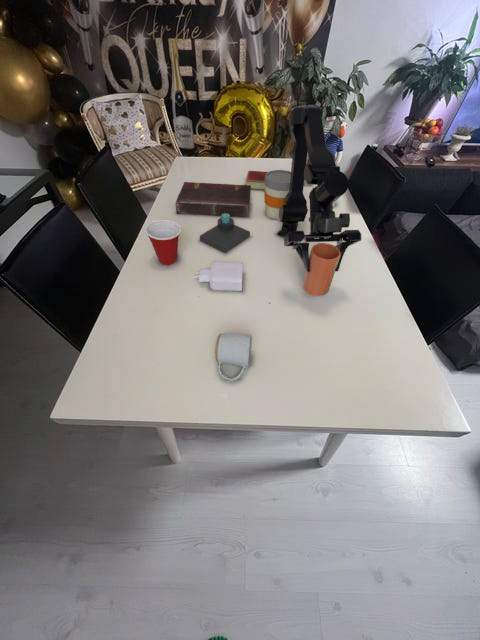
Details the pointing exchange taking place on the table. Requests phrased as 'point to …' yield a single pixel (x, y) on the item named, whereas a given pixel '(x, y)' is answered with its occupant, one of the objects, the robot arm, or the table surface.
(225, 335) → the ceramic mug
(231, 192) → the hardback book
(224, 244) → the dark grey base plate
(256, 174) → the hardcover book
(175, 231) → the plastic cup
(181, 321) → the table surface
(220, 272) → the charger
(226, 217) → the button
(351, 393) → the table surface
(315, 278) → the cup
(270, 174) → the reusable coffee cup
